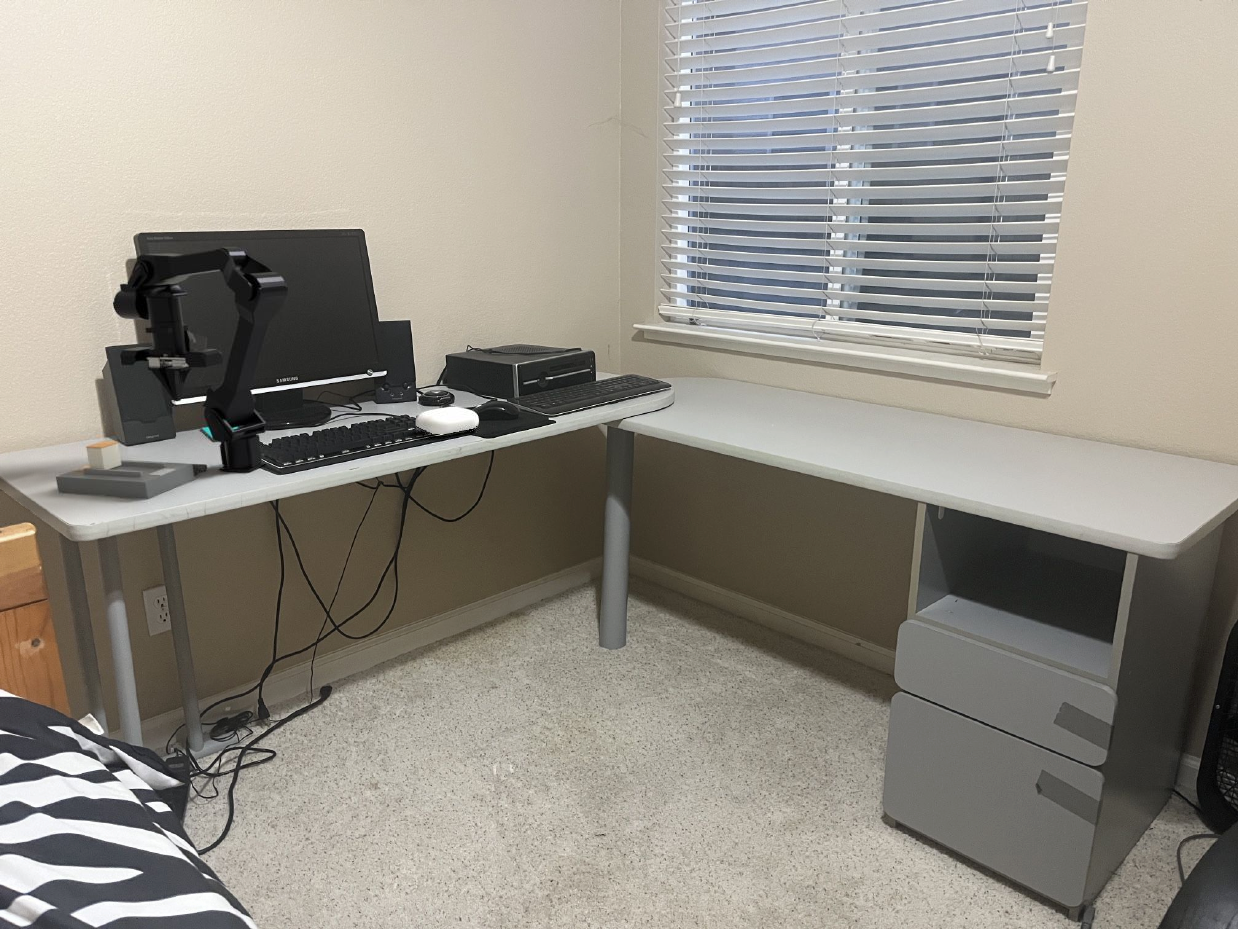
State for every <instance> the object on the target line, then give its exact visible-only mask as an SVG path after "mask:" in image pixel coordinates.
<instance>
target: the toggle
mask: <svg viewBox="0 0 1238 929" xmlns="http://www.w3.org/2000/svg"><path fill="white" fill-rule="evenodd" d="M85 448H86V453H87V454H86V455H87V460H88V466H90V468H94V469H111V468H114V467H117V466H120V465H121V460H122V459H121V454H120V447H119V442H118V441H110V440H107V441H106V440H102V441H99V442H96V443H93V444H90V445H86V447H85Z"/></svg>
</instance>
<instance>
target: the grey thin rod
mask: <svg viewBox="0 0 1238 929" xmlns="http://www.w3.org/2000/svg"><path fill="white" fill-rule="evenodd" d="M191 464H192V465H193V466H196V467H197V468H198V473H199V472H202V473H205V472H208V471H207V470H208V465H207V464H205V463H204V464H203V463H191Z"/></svg>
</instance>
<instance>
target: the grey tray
mask: <svg viewBox="0 0 1238 929" xmlns="http://www.w3.org/2000/svg"><path fill="white" fill-rule="evenodd" d="M192 464H193V463H184V462H182V463H181V462H166V461H165V462H162V461H148V460H147V461H146V460H131V459H129V460H128V459H121V465H120V466H117V467H114V468H111V469H94V468H90V466H89V465H85V466H83V467H80V468H76V469H75V470H71V471H68V472H66V473H63V474H59V475H57V476H55V480H56V486H57V492H58V494H66V495H67V494H68V495H84V496H99V497H110V498H111V497H113V498H114V497H115V498H127V499H128V498H129V499H142V500H143V499H144V500H149V499H151V498H154V497H156V496H158V495H161V494H163V493H166V492H168V491H170V490H172V489H175V488H178V487H180V486H182V485H185V484H187V483H190V482H192V481H194V480H195V475H194V473H193V465H192Z"/></svg>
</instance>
